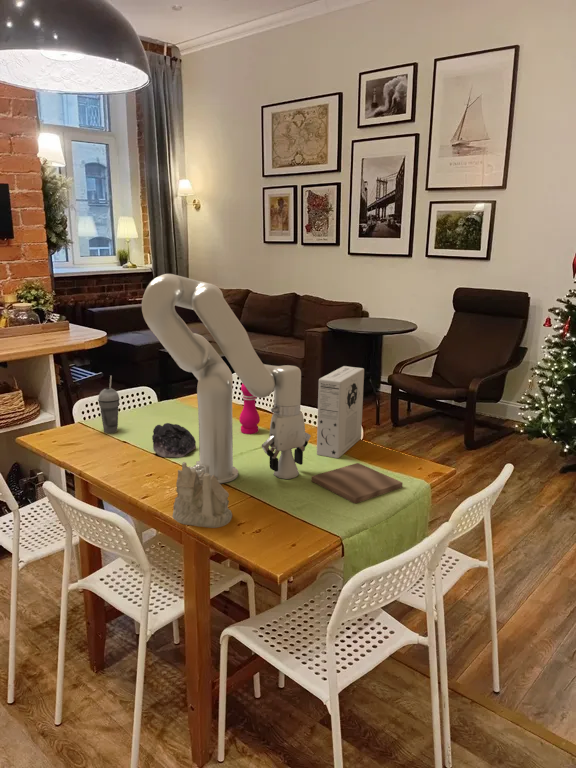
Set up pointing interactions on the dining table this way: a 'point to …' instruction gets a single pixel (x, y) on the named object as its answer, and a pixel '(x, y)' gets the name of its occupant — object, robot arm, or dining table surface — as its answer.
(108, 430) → the beverage cup
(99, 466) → the dining table surface
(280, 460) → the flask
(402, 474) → the dining table surface
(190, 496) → the miniature castle
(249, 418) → the pepper mill
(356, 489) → the walnut board
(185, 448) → the crystal cluster
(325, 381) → the cereal box
